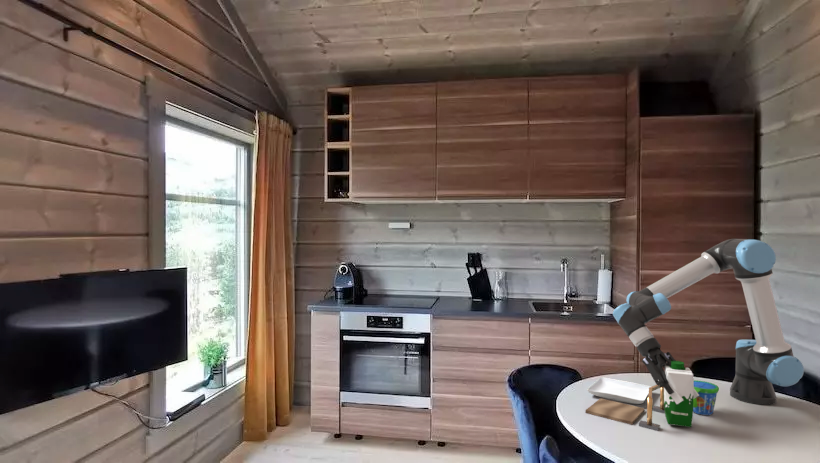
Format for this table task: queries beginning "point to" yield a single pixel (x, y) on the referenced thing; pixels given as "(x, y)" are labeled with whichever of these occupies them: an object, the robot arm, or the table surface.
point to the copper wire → (653, 409)
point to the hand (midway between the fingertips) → (688, 399)
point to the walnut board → (615, 411)
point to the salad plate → (619, 390)
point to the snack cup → (704, 397)
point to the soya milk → (685, 387)
